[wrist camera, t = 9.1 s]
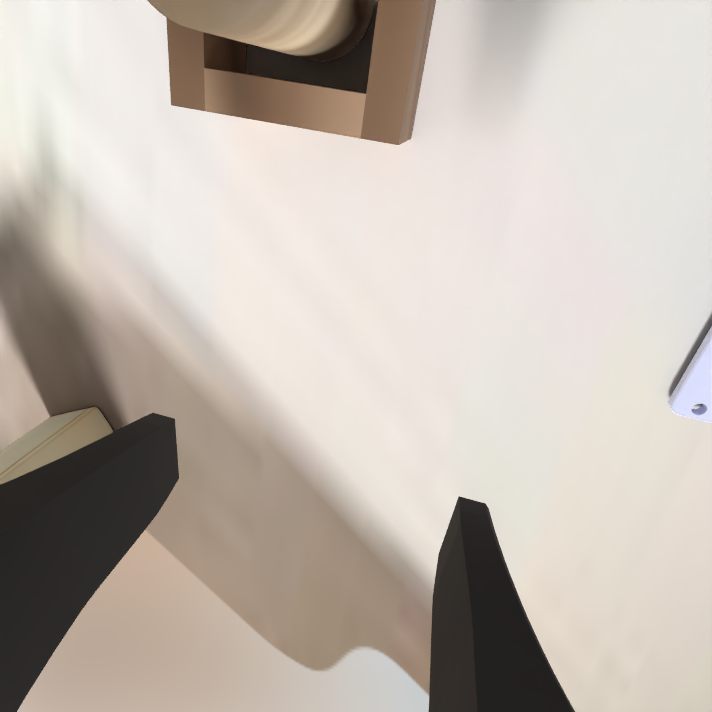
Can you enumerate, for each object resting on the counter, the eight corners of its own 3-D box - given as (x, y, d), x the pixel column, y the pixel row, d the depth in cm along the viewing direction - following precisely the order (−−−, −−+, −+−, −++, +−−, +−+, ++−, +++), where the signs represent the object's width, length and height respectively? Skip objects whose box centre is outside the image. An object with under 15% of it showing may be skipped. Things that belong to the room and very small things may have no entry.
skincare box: (151, 483, 29) (-30, 692, 19) (100, 491, 31) (-92, 687, 21) (95, 401, 27) (-146, 587, 17) (44, 414, 29) (-206, 591, 18)
